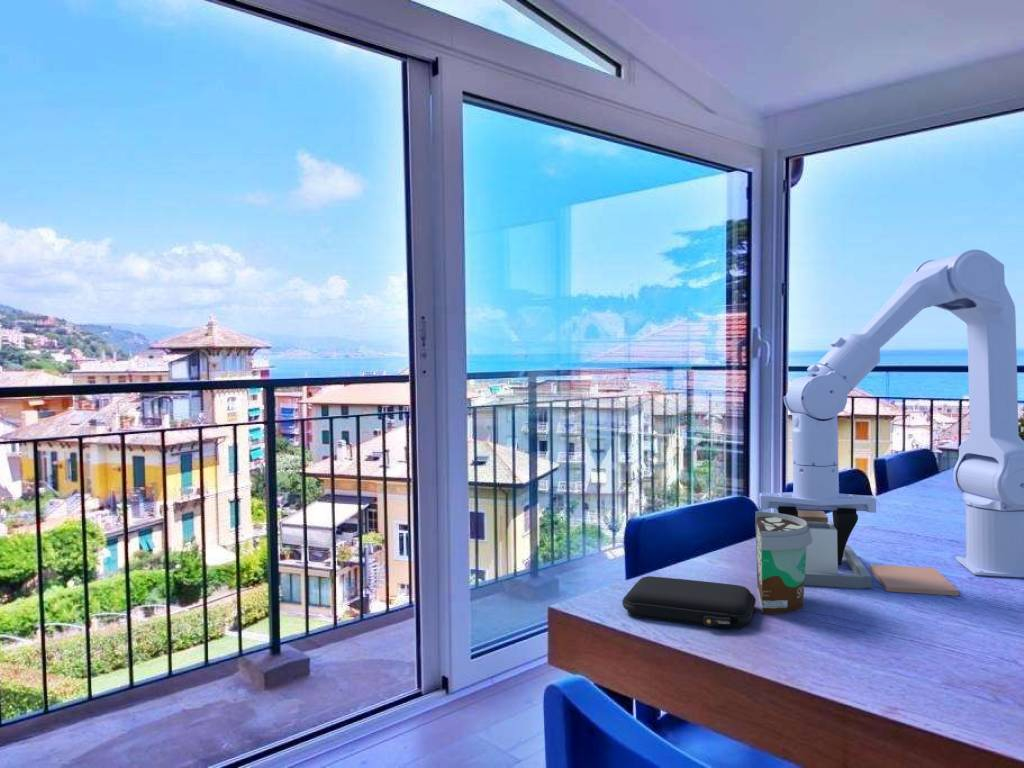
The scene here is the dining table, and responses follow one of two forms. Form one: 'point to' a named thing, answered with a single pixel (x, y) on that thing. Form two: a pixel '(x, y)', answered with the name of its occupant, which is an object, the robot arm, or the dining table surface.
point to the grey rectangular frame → (843, 580)
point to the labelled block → (822, 548)
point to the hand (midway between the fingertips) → (817, 562)
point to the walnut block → (813, 516)
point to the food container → (781, 561)
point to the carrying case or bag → (690, 602)
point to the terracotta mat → (913, 580)
